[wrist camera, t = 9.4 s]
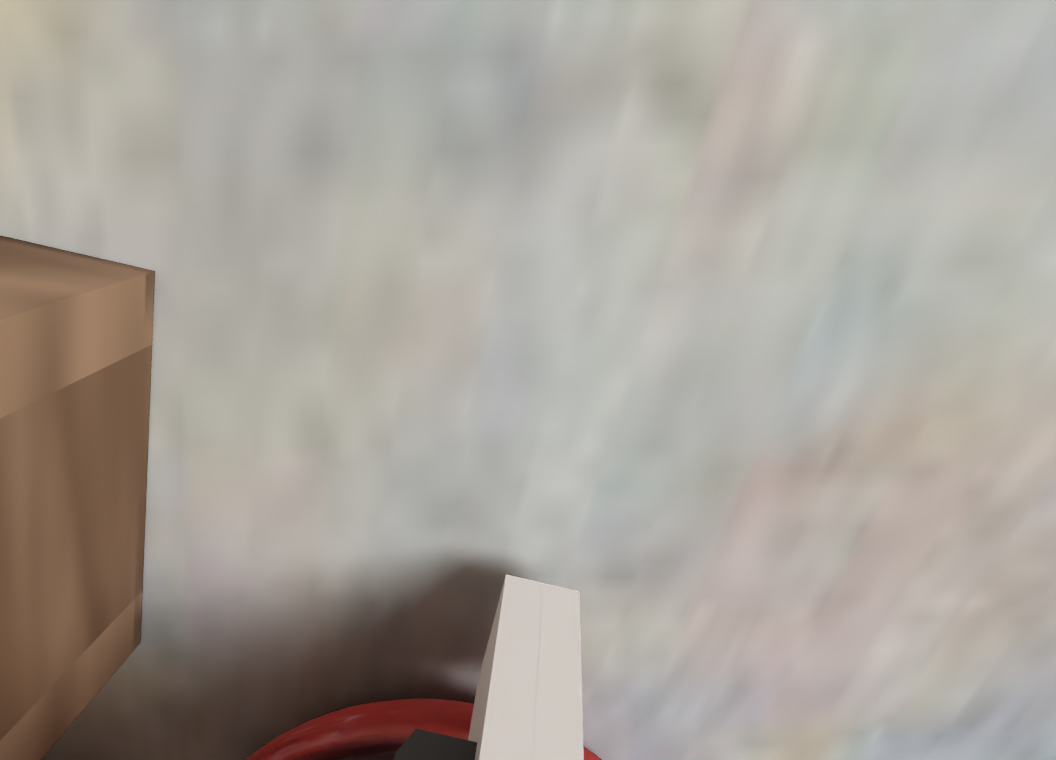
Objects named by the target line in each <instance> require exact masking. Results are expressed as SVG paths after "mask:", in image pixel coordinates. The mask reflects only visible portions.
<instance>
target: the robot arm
mask: <svg viewBox="0 0 1056 760" xmlns="http://www.w3.org/2000/svg"><path fill="white" fill-rule="evenodd" d="M393 760H584V749H583V709H582V669H581V629H580V591H576V590H572V589H567V588H563V587H559V586H554V585H550V584H546V583H541V582H537V581H533V580H528V579H524V578H520V577H515V576H511V575H507V574H506V576H505V580H504V584H503V587H502V591H501V595H500V599H499V603H498V606H497V610H496V614H495V618H494V622H493V625H492V629H491V633H490V637H489V641H488V645H487V648H486V652H485V656H484V660H483V664H482V667H481V671H480V675H479V679H478V684H477V690H476V696H475V702H474V707H473V713H472V719H471V725H470V731H469V737H468V740H465V739H460V738H456V737H452V736H447V735H443V734H438V733H434V732H429V731H425V730H421V729H415V730H414V731H413V733H412V734H411V735H410V736H409V737H408V739H407V740H406V741H405V742H404V743H403V745H402V746H401V747H400V748H399V749H398V751H397V752H396V753H395V756H394V759H393Z"/></svg>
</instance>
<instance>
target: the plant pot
mask: <svg viewBox="0 0 1056 760" xmlns="http://www.w3.org/2000/svg"><path fill="white" fill-rule="evenodd" d="M473 707H474V704H473V703H467V702H461V701H453V700H444V699H401V700H390V701H381V702H373V703H367V704H361V705H355V706H351V707H347V708H344V709H341V710H337V711H334V712H331V713H329V714H326V715H323V716H320V717H317V718H315V719H312V720H309V721H307V722H305V723H303V724H301V725H299V726H297V727H295V728H293V729H291V730H288V731H286V732H285V733H283V734H282V735H280V736H278V737H277V738H275V739H273V740H272V741H270V742H268V743H267V744H265V745H264V746H263V747H261V748H260V749H259V750H257V751H256V752H255V753H254V754H252V755H251V756H250V757H248V758H247V759H246V760H393V759H394V756H395V753H396V752H397V751H398V749H399V748H400V747H401V746H402V745H403V743H404V742H405V741H406V740H407V739H408V737H409V736H410V735H411V734H412V733H413V731H414V730H415V729H421V730H425V731H429V732H434V733H438V734H443V735H447V736H452V737H456V738H460V739H465V740H468V737H469V731H470V725H471V719H472V713H473ZM583 749H584V760H601V759H600V758H599V757H598V756H596V755H595V754H594V753H592V752H591V751H589V750H588V749H586V748H585V747H583Z"/></svg>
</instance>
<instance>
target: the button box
mask: <svg viewBox="0 0 1056 760" xmlns="http://www.w3.org/2000/svg"><path fill="white" fill-rule="evenodd" d="M154 283H155V271H152V270H147V269H143V268H139V267H134V266H130V265H126V264H121V263H117V262H113V261H108V260H104V259H100V258H95V257H91V256H87V255H82V254H78V253H74V252H69V251H65V250H61V249H56V248H52V247H48V246H43V245H39V244H35V243H30V242H26V241H22V240H17V239H13V238H9V237H4V236H0V760H41V759H42V757H43V756H44V755H45V754H46V753H47V752H48V750H49V749H50V748H51V747H52V746H53V745H54V743H55V742H56V741H57V740H58V739H59V738H60V736H61V735H62V734H63V733H64V732H65V730H66V729H67V728H68V727H69V726H70V725H71V723H72V722H73V721H74V720H75V719H76V718H77V716H78V715H79V714H80V713H81V712H82V711H83V709H84V708H85V707H86V706H87V705H88V703H89V702H90V701H91V700H92V699H93V698H94V696H95V695H96V694H97V693H98V692H99V691H100V689H101V688H102V687H103V686H104V685H105V684H106V682H107V681H108V680H109V679H110V678H111V677H112V675H113V674H114V673H115V672H116V671H117V669H118V668H119V667H120V666H121V665H122V664H123V662H124V661H125V660H126V659H127V658H128V657H129V655H130V654H131V653H132V652H133V651H134V650H135V648H136V647H137V646H138V645H139V644H140V641H141V616H142V590H143V565H144V539H145V513H146V488H147V462H148V437H149V411H150V386H151V360H152V334H153V309H154Z"/></svg>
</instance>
